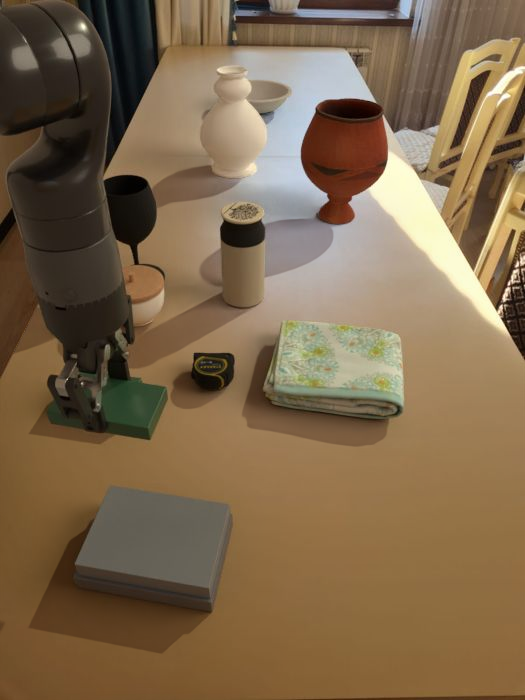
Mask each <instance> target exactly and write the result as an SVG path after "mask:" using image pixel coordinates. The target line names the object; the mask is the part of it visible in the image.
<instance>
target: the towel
mask: <svg viewBox="0 0 525 700" xmlns="http://www.w3.org/2000/svg"><path fill="white" fill-rule="evenodd" d="M404 380H405V379H404V364H403V346H402V338H401V337H400V335H399V334H397V333H396V332H392V331H387V330H385V329H382V328H377V327H376V328H375V327H369V326H368V327H366V326H365V327H364V326H354V325H346V324H339V323H338V324H337V323H330V322H321V321H319V322H318V321H308V320H307V321H306V320H293V319H287V320H281V322H280V328H279V331H278V337H277V338H276V341H275V344H274V349H273V354H272V358H271V362H270V365H269V368H268V370H267V374H266V377H265V380H264V383H263V387H262V392H264V393H265V394H264V395H265V397H266V398H268V399H269V400H270V403H272V405H275V406H280V407H284V408H290V409H294V410H305V411H313V412H322V413H327V414H335V415H340V416H346V417H347V416H348V417H355V418H363V419H374V420H375V419H376V420H386V419H393V418H399V417H400V416H401V415H402V414H403V413H404V410H405V385H404Z"/></svg>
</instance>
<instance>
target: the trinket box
mask: <svg viewBox="0 0 525 700" xmlns="http://www.w3.org/2000/svg"><path fill="white" fill-rule="evenodd" d="M130 265H131V266H130ZM130 265H126V266H122V270H123V276H124V282H125V287H126V293H127V295H130V296H131V303H132V313H133V324H134V327H143V326H147V325H149V324H151V323H152V322H153V321H154V320H155V319H156V317H158V315H159V314H160V313H161V311H162V309H163V307H164V303H165V280H164V278H163V276H162V274H161V273H160V272H159V271H158V270H156V269H154V268H152V267H149V266H143V265H134V264H130Z"/></svg>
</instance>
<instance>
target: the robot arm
mask: <svg viewBox="0 0 525 700" xmlns="http://www.w3.org/2000/svg"><path fill="white" fill-rule="evenodd" d="M111 105H112V75H111V69H110V62H109V57H108V54H107V51H106V49H105V46H104V43H103V41H102V38H101V36H100V34H99V33H98V31H97V28H96V27H95V26H94V24H93V23H92V22H91V20H90V19H89V17H87V15H86V14H85V13H84V12H83V11H82V10H80V9H79V8H78V7H77V6H75V5H73V4H72V3H70V2H68V1H65V0H36V1H30V2H26V3H25V2H24V3H21V4H14V5H4V0H0V137H1V136H3V137H9V136H17V135H20V134H24V133H28V132H31V131H33V130H36V129H38V128H41V129H40V133H39V136H38V138H37V140H36V141H35V142H34V143H33V145H31V146H30V147H29V148H28V149H27V150H25V151H24V152H23V153H22V154H20V155H19V156H17V157H16V158H15V159H14V160H13V161H12V162H11V163H10V164H9V165H8V167H7V169H6V172H5V178H4V179H5V186H6V191H7V195H8V197H9V201H10V204H11V207H12V211H13V215H14V218H15V221H16V224H17V228H18V231H19V234H20V237H21V241H22V246H23V253H24V259H25V260H24V261H25V263H26V268H27V271H28V275H29V277H30V280H31V284H32V287H33V290H34V294H35V297H36V300H37V303H38V307H39V310H40V313H41V316H42V319H43V322H44V325H45V327H46V329H47V331H48V332H49V333H50V334H51V335H52V336H53V337H55V338H56V340H58V342H60V343H61V344H62V360H63V363H64V365H63V368H62V369H61V371H60V373H59V375H58V374H53V373H51V374H50V375H48V378H47V379H46V386H47V388H48V390H49V392H50V394H51V397H52V398H53V400H55V402H56V404H57V406H58V408H59V410H60V412H61V414H62V416H63V418H67V419H76V420H82V423H83V425H84V429H83V430H84V431H85V432H89V433H95V434H106V433H105V431H106V429H107V428H108V426H107V420H106V416H105V412H104V408H103V405H101V404H102V389H103V388H104V387H105V386H106V385H107V374H108V376H109V378H114V379H121V380H127V381H131V377H132V376H131V372H130V367H129V362H128V360H129V358H130V349H129V345H130V346H133V345H134V343H135V340H136V336H135V326H134V324H133V313H132V303H131V296H130V295H127V293H126V287H125V282H124V276H123V270H122V267H123V266H122V259H121V253H120V249H119V244H118V240H116V238H115V235H114V232H113V229H112V225H111V219H110V213H109V208H108V202H107V196H106V192H105V186H104V181H103V180H104V173H105V165H106V159H107V148H108V135H109V127H110V118H111V117H110V116H111ZM122 327H123V328H124V330H125V332H124V331H122V329H121V328H122ZM79 372H82V373H87V374H97V379H95V378H88V377H83V376H81V375H80V374H79ZM84 389H88V390H91V392H92V398H87V396H86V394H85V392H84Z"/></svg>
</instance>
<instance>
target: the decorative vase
mask: <svg viewBox="0 0 525 700" xmlns="http://www.w3.org/2000/svg"><path fill="white" fill-rule="evenodd" d="M216 74H217V76H219V77H218V78H217V79H216V80H215V82H214V84H213V91H214V93H215V94H216V96H217V97H218V98H219V100H218V101H217V102H216V103H214V105H213V106H212V107H211V108H210V109H209V111H208V112H207V114H206V115H205V117H204V119H203V120H202V123H201V126H200V130H199V140H200V143H201V146H202V148H203V150H205V152H206V153H207V154H208V156H209V157H210V158H211V159H212V160H213V161H214V162H213V163H212V164H211V172H212V173H213V174H215V175H216V176H218V177H222V178H225V179H243V178H248V177H250V176H252V175H254V174H255V173H257V171H258V165H257V163H256V162H255V160H256V159H257V158H258V156H259V155H260V154H261V153H262V152H263V150H264V149H265V147H266V144H267V142H268V128H267V126H266V123H265V121H264V119H263V118H262V116H261V114H260V113H258V112H257V111H256V109H255V108H254V107H253V106H252V105H251V104H250V103H249V102H248V101H247V100H246V99H245V98H246V97H247V96H248V95H249V93H250V92H251V84H250V82H249V81H248V80H249V79H247V78H246V77H245V76H247V75H248V68H246V67H244V66H241V65H224V66H220V67H218V68H216Z"/></svg>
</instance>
